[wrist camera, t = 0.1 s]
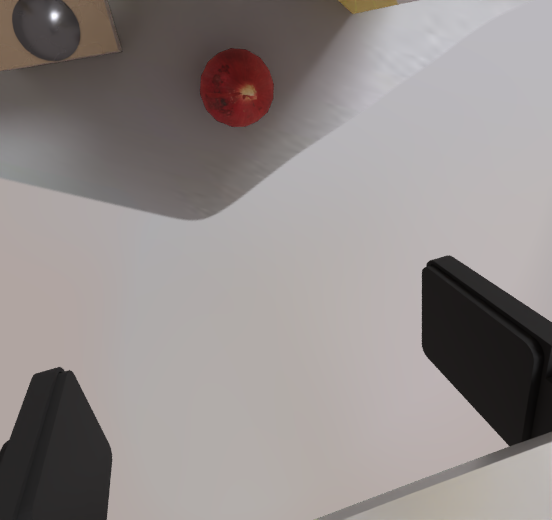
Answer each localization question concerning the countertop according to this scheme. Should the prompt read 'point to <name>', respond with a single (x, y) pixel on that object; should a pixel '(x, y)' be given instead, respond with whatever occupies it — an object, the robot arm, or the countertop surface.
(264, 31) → the countertop surface
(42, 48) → the wooden block with knobs
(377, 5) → the pasta box
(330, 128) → the countertop surface
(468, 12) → the countertop surface
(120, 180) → the countertop surface
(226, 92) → the onion
